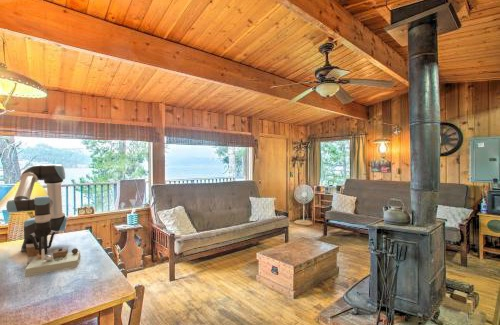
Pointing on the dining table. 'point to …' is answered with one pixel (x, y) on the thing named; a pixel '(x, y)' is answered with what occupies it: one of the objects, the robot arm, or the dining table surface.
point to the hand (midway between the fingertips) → (43, 259)
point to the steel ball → (48, 258)
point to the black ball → (74, 250)
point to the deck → (52, 264)
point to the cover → (60, 252)
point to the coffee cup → (31, 249)
